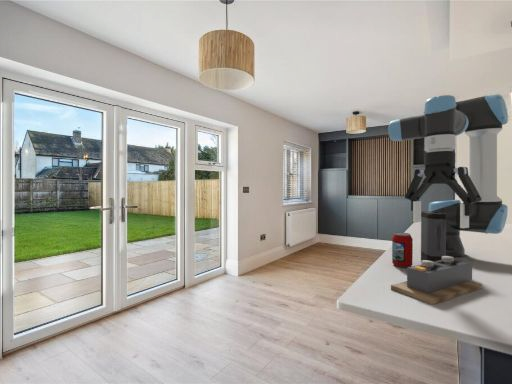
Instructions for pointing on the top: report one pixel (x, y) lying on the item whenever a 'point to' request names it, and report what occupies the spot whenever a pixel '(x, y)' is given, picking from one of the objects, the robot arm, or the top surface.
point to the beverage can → (402, 249)
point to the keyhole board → (440, 294)
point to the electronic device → (433, 235)
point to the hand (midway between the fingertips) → (439, 224)
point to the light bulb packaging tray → (439, 276)
